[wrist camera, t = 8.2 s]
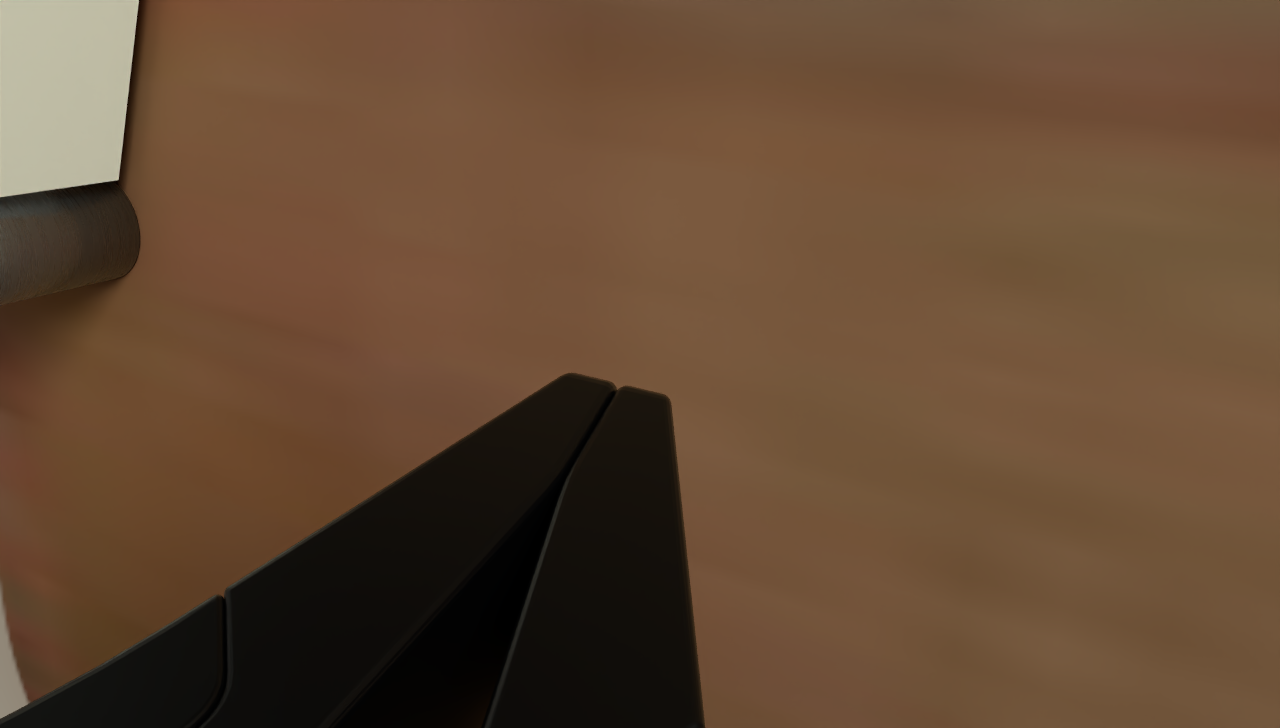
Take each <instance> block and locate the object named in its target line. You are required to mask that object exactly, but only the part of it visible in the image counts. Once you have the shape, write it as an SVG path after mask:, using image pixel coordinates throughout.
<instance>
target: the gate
mask: <svg viewBox="0 0 1280 728" xmlns="http://www.w3.org/2000/svg"><path fill="white" fill-rule="evenodd" d="M138 4H139V0H0V197H5V196H12V195H19V194H26V193H32V192H39V191H46V190H53V189H60V188H67V187H74V186H81V185H88V184H95V183H102V182H109V181H115V180H119V172H120V163H121V154H122V145H123V136H124V128H125V119H126V110H127V101H128V92H129V83H130V75H131V66H132V57H133V48H134V39H135V30H136V22H137V13H138Z"/></svg>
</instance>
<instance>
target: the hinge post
mask: <svg viewBox="0 0 1280 728" xmlns="http://www.w3.org/2000/svg"><path fill="white" fill-rule="evenodd" d="M139 246H140V234H139V226H138V222H137V218H136V215H135V212H134V209H133V207H132V205H131V203H130V201H129V199H128V198H127V196H126V195H125V193H124V192H123V190H122V189H121V188H120V187H119V186H118V185H117V184H116V183H115V182H114V181H109V182H102V183H95V184H88V185H81V186H74V187H67V188H60V189H53V190H46V191H39V192H32V193H26V194H19V195H12V196H5V197H0V305H5V304H9V303H13V302H17V301H22V300H26V299H30V298H35V297H39V296H43V295H47V294H52V293H56V292H60V291H65V290H69V289H73V288H78V287H82V286H86V285H90V284H95V283H99V282H103V281H108V280H112V279H116V278H119V277H122V276H124V275H126V274H127V273H128V272H129V271H130V270H131V269H132V267H133V266H134V264H135V262H136V259H137V257H138V252H139Z"/></svg>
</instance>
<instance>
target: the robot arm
mask: <svg viewBox="0 0 1280 728" xmlns="http://www.w3.org/2000/svg"><path fill="white" fill-rule="evenodd" d="M0 728H705V721H704V712H703V702H702V693H701V683H700V674H699V664H698V655H697V645H696V635H695V626H694V616H693V607H692V597H691V588H690V578H689V569H688V559H687V550H686V540H685V531H684V521H683V512H682V502H681V493H680V483H679V474H678V464H677V455H676V445H675V436H674V426H673V417H672V407H671V401H670V399H669V398H668V397H667V396H666V395H664V394H661V393H657V392H653V391H648V390H644V389H640V388H636V387H632V386H623V387H621V388H619V389H618V390H617V388H616V386H615V385H614V384H613V383H612V382H610V381H606V380H602V379H598V378H594V377H590V376H585V375H581V374H577V373H568V374H564V375H562V376H560V377H559V378H557V379H555V380H554V381H552V382H551V383H549V384H548V385H546V386H544V387H543V388H541V389H540V390H538V391H537V392H535V393H533V394H532V395H530V396H529V397H527V398H525V399H524V400H522V401H521V402H519V403H518V404H516V405H514V406H513V407H511V408H510V409H508V410H507V411H505V412H503V413H502V414H500V415H499V416H497V417H496V418H494V419H492V420H491V421H489V422H488V423H486V424H484V425H483V426H481V427H480V428H478V429H477V430H475V431H473V432H472V433H470V434H469V435H467V436H466V437H464V438H462V439H461V440H459V441H458V442H456V443H454V444H453V445H451V446H450V447H448V448H447V449H445V450H443V451H442V452H440V453H439V454H437V455H436V456H434V457H432V458H431V459H429V460H428V461H426V462H424V463H423V464H421V465H420V466H418V467H417V468H415V469H413V470H412V471H410V472H409V473H407V474H406V475H404V476H402V477H401V478H399V479H398V480H396V481H395V482H393V483H391V484H390V485H388V486H387V487H385V488H383V489H382V490H380V491H379V492H377V493H376V494H374V495H372V496H371V497H369V498H368V499H366V500H365V501H363V502H361V503H360V504H358V505H357V506H355V507H353V508H352V509H350V510H349V511H347V512H346V513H344V514H342V515H341V516H339V517H338V518H336V519H335V520H333V521H331V522H330V523H328V524H327V525H325V526H324V527H322V528H320V529H319V530H317V531H316V532H314V533H312V534H311V535H309V536H308V537H306V538H305V539H303V540H301V541H300V542H298V543H297V544H295V545H294V546H292V547H290V548H289V549H287V550H286V551H284V552H282V553H281V554H279V555H278V556H276V557H275V558H273V559H271V560H270V561H268V562H267V563H265V564H264V565H262V566H260V567H259V568H257V569H256V570H254V571H253V572H251V573H249V574H248V575H246V576H245V577H243V578H241V579H240V580H238V581H237V582H235V583H234V584H232V585H230V586H229V587H227V588H226V590H225V592H224V598H223V597H222V596H221V595H214V596H212V597H211V598H209V599H208V600H206V601H204V602H203V603H201V604H200V605H198V606H197V607H195V608H193V609H192V610H190V611H189V612H187V613H185V614H184V615H182V616H181V617H179V618H178V619H176V620H174V621H173V622H171V623H170V624H168V625H166V626H165V627H163V628H161V629H160V630H158V631H156V632H155V633H153V634H151V635H150V636H148V637H146V638H145V639H143V640H141V641H140V642H138V643H136V644H135V645H133V646H131V647H130V648H128V649H126V650H125V651H123V652H121V653H120V654H118V655H116V656H115V657H113V658H111V659H110V660H108V661H106V662H105V663H103V664H101V665H100V666H98V667H96V668H94V669H92V670H90V671H88V672H87V673H85V674H83V675H81V676H79V677H77V678H76V679H74V680H72V681H70V682H68V683H66V684H65V685H63V686H61V687H59V688H57V689H55V690H54V691H52V692H50V693H48V694H46V695H44V696H42V697H41V698H39V699H37V700H35V701H33V702H31V703H30V704H28V705H26V706H24V707H22V708H21V709H19V710H17V711H15V712H13V713H11V714H9V715H7V716H5V717H3V718H1V719H0Z"/></svg>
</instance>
